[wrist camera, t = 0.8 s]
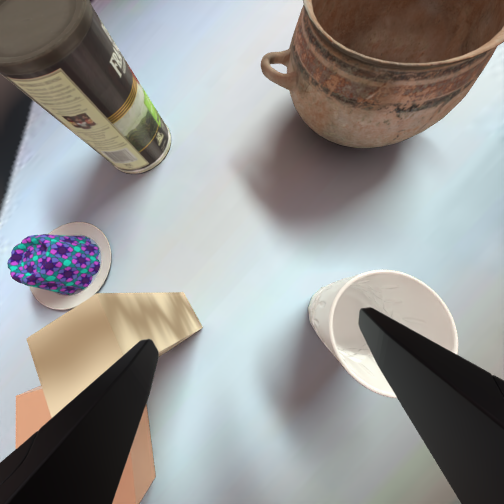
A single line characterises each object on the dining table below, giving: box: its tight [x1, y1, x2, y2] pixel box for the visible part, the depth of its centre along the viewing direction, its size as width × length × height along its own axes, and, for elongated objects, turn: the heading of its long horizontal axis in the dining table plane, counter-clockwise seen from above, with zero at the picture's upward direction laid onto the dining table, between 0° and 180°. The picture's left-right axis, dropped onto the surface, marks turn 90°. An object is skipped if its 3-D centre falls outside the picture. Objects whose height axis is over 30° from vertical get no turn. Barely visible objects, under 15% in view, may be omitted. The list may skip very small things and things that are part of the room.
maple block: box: [27, 292, 203, 417], centre depth 17 cm, size 5×5×12 cm
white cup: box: [308, 270, 458, 398], centre depth 17 cm, size 8×8×10 cm
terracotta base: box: [16, 386, 156, 504], centre depth 20 cm, size 12×12×3 cm
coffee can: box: [0, 0, 171, 174], centre depth 23 cm, size 10×10×14 cm
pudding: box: [8, 222, 111, 310], centre depth 24 cm, size 12×12×5 cm
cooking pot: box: [261, 0, 504, 148], centre depth 21 cm, size 25×19×12 cm
